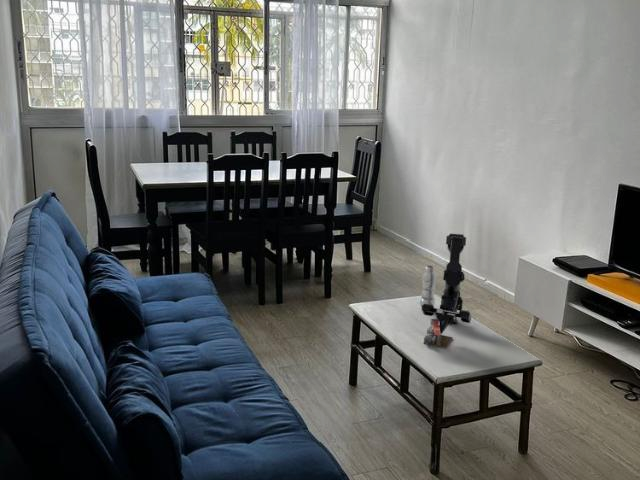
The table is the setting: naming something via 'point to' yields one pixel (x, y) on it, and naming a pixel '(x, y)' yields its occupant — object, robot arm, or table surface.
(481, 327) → the table surface
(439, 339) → the valve
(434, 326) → the lever
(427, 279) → the plastic bottle
